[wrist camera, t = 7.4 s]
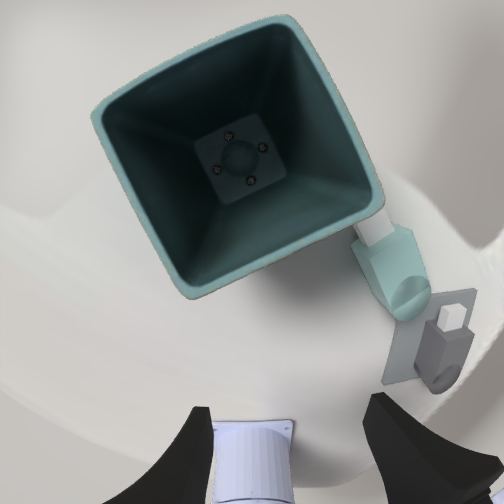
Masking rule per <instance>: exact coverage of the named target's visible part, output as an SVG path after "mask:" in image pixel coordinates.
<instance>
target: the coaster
mask: <svg viewBox="0 0 504 504" xmlns="http://www.w3.org/2000/svg"><path fill="white" fill-rule="evenodd" d="M476 294H477V290H476V289H475V288H471V289H465V290H458V291H451V292H443V293H436V294H431V296H430V300H429V303H428V305H427V307H426V308H425V310H424V311H423V312H422V313H421V314H420V315H419V316H418V317H416V318H415V319H412V320H410V321H400V320H397V323H396V327H395V332H394V336H393V340H392V345H391V349H390V353H389V357H388V360H387V364H386V368H385V371H384V375H383V378H382V384H383V385H389V384H394V383H398V382H403V381H407V380H411V379H415V378H419V377H420V376H419V375H418V373H417V372H416V371H415V369H414V361H415V358H416V355H417V351H418V348H419V345H420V341H421V338H422V334H423V330H424V326H425V322H426V321H428V320H433V319H438V318H439V314H440V310H441V306H446V305H452V304H457V303H460V304H461V305H462V306H464V307H465V308H466V309H467V311H466V314H465V318H464V321H463V325H465V326H466V327H468V324H469V321H470V317H471V314H472V310H473V306H474V303H475V299H476Z"/></svg>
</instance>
